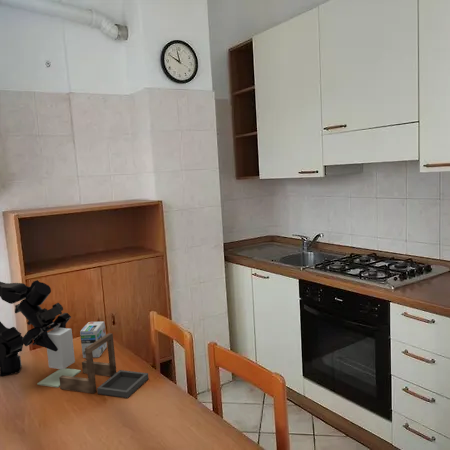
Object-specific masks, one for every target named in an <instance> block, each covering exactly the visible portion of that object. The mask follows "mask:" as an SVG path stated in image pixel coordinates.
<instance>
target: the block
mask: <svg viewBox="0 0 450 450" xmlns="http://www.w3.org/2000/svg"><path fill="white" fill-rule="evenodd" d="M72 332H73V331H72V328H67V327H66V328H58V327H57V328H55V329H51V330H49V331H47V333H48V337H49V338H50V339H51V341H52V342H53V343H54V344H55V346H56V347H57V349H58V350H57V351H56V352H55V351H53V350H50V349H48V348H46V354H47V361H48V368H50V369H55V370H56V369H57V370H59V369H65V368H67V367H69V366H71V365H72V364H75V362H76V358H75V349H74V340H73V333H72Z"/></svg>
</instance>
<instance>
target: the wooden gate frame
mask: <svg viewBox="0 0 450 450" xmlns="http://www.w3.org/2000/svg"><path fill="white" fill-rule="evenodd" d="M113 334H114V333H111V332H109V333H107V334H106V335H105V336H104V337H102V338H100V339H99V340H97V341H96V342H94V343H93V344H91V345H89V346H88V347H86V348H85V354H86V358H85V360H82V362H81V367H82V374H87V378H85V377H80V376H79V377H77V376H74V377H71V376H64V375H62V376H61V377H59V379H60V387H59V388H60V389H61V390H65V391H66V390H67V391H72V392H80V393H81V392H82V393H85V394H86V393H87V394H96V393H97V384H96V383H97V382H96V376H103V377H109V378H111V377H112V376H113V375H114V374H116V373H117V372H118V371H117V363H116V353H115V343H114V335H113ZM104 343H107V353H108V362H100V361H94V357H93V354H92V351H94V350H95V349H97V348H98V347H100V346H101V345H103V344H104Z"/></svg>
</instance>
